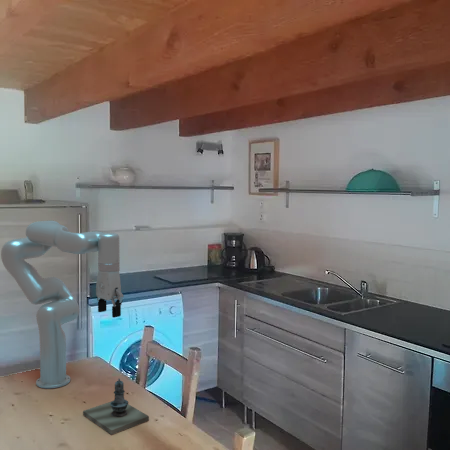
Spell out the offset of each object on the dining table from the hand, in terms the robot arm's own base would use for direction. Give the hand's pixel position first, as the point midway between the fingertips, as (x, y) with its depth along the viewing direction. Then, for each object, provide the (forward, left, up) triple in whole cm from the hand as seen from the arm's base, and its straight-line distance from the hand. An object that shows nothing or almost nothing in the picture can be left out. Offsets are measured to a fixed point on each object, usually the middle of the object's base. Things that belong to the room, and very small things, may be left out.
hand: (109, 314), depth 180 cm
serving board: (+17, -8, -30) cm, 36 cm away
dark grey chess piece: (+18, -7, -29) cm, 35 cm away
